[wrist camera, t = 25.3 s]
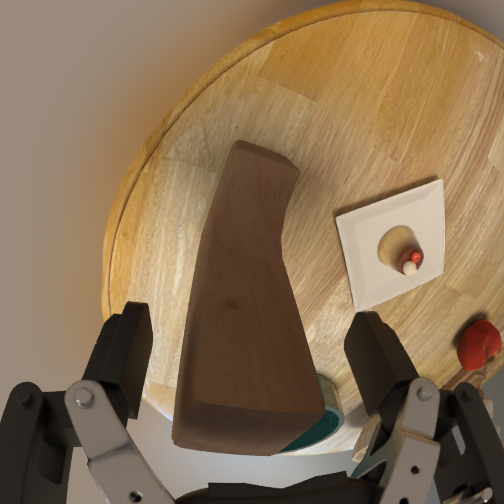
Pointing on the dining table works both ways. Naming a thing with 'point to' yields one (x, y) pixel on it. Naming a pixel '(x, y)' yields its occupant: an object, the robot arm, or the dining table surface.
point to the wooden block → (245, 321)
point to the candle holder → (475, 380)
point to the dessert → (394, 244)
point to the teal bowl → (326, 424)
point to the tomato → (479, 345)
